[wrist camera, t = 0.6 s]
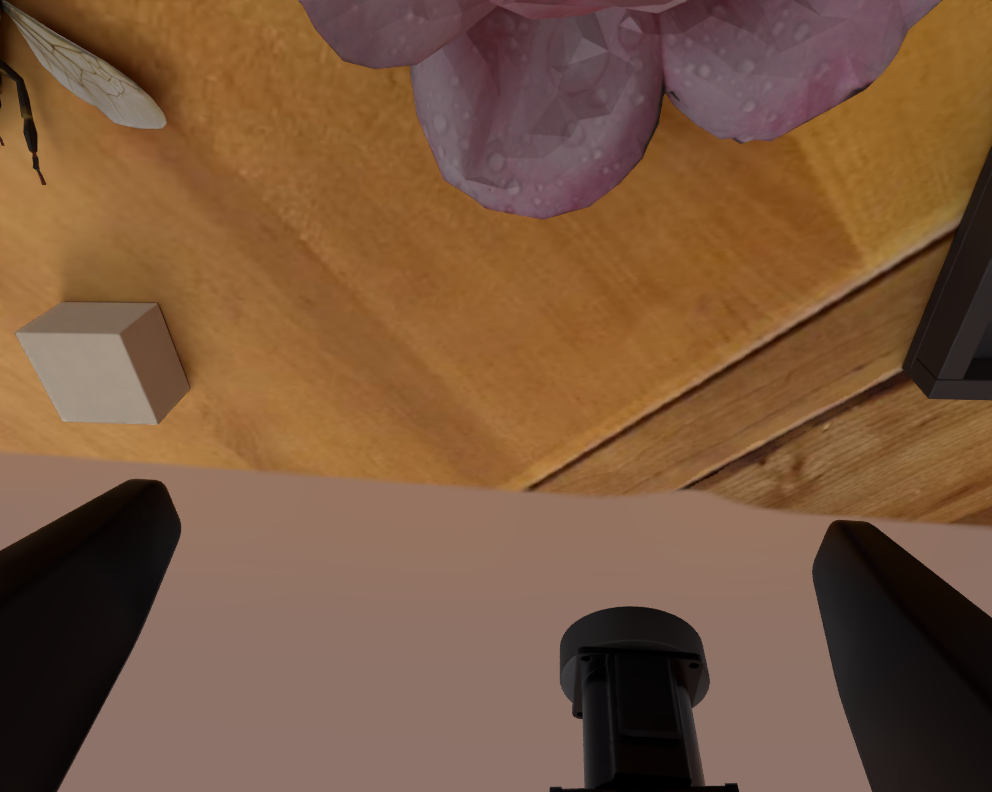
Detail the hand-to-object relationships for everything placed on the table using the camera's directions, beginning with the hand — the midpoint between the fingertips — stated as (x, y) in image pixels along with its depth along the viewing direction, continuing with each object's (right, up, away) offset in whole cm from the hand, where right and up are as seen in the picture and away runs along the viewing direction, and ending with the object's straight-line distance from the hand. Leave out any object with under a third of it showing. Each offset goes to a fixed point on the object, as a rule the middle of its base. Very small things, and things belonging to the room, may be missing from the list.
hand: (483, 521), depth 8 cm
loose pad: (-15, +4, +16) cm, 22 cm away
